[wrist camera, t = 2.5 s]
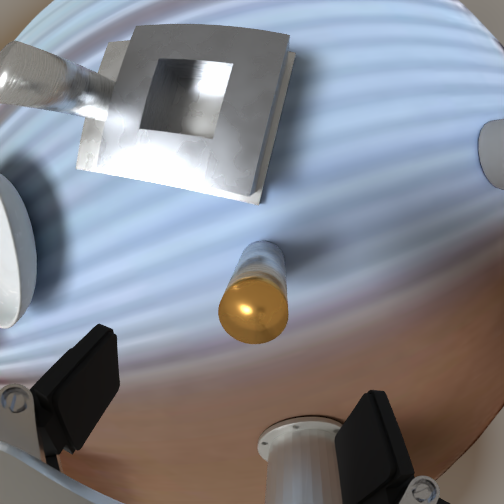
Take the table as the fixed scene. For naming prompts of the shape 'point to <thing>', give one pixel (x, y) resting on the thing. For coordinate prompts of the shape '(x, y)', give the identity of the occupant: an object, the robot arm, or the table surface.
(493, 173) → the can
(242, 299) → the gold and grey cylinder
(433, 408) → the table surface
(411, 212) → the table surface
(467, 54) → the table surface
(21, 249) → the serving bowl
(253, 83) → the grey block stand
